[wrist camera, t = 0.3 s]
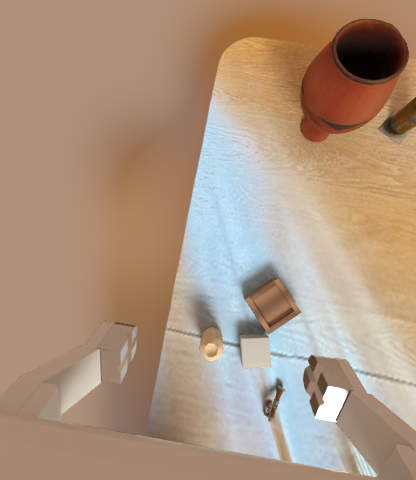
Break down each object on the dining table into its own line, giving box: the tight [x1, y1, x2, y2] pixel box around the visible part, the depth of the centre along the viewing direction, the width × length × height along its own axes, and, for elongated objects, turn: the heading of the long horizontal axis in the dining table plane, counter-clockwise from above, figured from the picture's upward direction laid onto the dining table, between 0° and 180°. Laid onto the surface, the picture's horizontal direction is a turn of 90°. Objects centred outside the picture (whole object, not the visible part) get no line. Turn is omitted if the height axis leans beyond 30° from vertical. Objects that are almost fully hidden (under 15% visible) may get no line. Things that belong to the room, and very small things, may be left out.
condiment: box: [379, 97, 416, 144], centre depth 61 cm, size 7×8×12 cm
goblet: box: [301, 19, 409, 142], centre depth 56 cm, size 19×19×25 cm
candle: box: [199, 327, 223, 361], centre depth 56 cm, size 6×6×10 cm
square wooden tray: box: [244, 278, 301, 335], centre depth 59 cm, size 10×10×4 cm
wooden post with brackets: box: [264, 385, 285, 422], centre depth 57 cm, size 2×8×4 cm, turn 147°
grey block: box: [240, 334, 272, 369], centre depth 58 cm, size 7×7×4 cm
